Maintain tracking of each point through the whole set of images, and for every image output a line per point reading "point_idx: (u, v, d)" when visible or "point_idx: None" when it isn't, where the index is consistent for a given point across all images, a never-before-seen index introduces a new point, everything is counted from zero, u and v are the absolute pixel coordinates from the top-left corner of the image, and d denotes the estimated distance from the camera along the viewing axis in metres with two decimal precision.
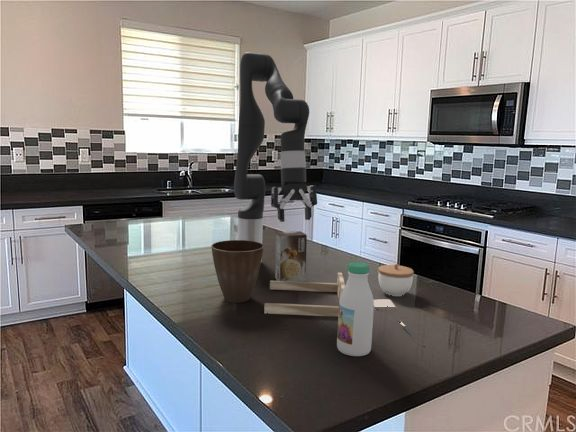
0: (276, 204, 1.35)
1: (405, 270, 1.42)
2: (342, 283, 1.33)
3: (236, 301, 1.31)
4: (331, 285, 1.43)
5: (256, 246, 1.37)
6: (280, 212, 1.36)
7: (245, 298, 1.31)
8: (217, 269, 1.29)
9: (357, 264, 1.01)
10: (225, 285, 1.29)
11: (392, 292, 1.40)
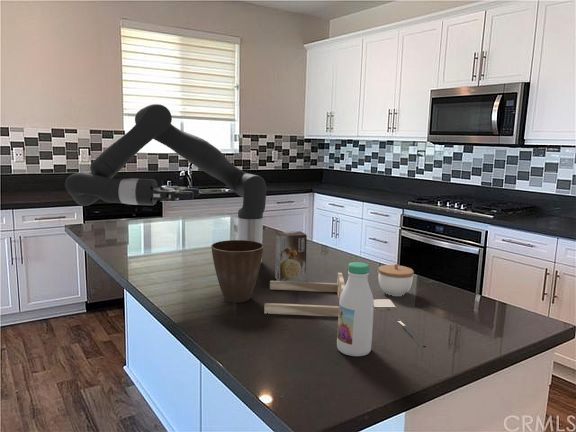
0: None
1: (405, 270, 1.42)
2: (342, 283, 1.33)
3: (236, 301, 1.31)
4: (331, 285, 1.43)
5: (256, 246, 1.37)
6: None
7: (245, 298, 1.31)
8: (217, 269, 1.29)
9: (357, 264, 1.01)
10: (225, 285, 1.29)
11: (392, 292, 1.40)
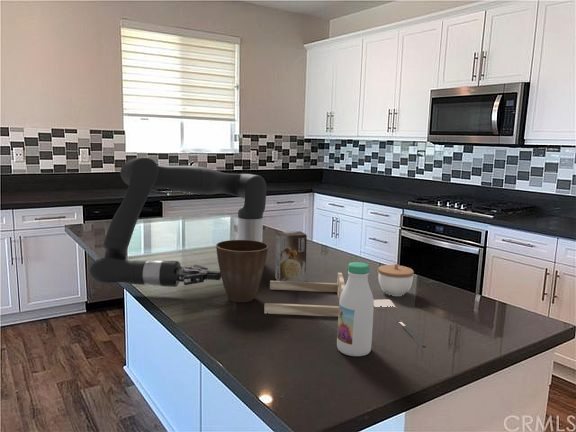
0: None
1: (405, 270, 1.42)
2: (342, 283, 1.33)
3: (240, 300, 1.31)
4: (331, 285, 1.43)
5: (260, 246, 1.37)
6: None
7: (249, 298, 1.31)
8: (222, 269, 1.29)
9: (357, 264, 1.01)
10: (229, 285, 1.29)
11: (392, 292, 1.40)
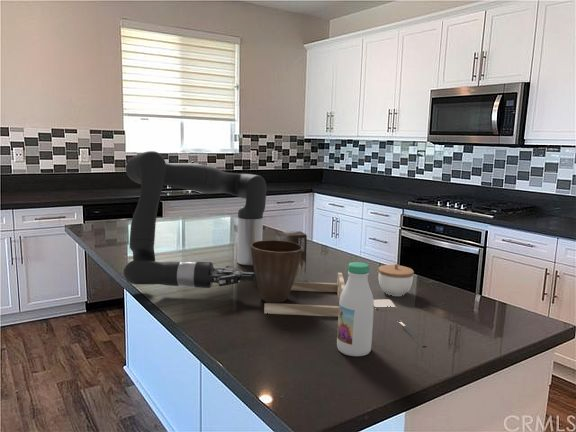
0: None
1: (405, 270, 1.42)
2: (342, 283, 1.33)
3: (276, 301, 1.31)
4: (331, 285, 1.43)
5: (290, 246, 1.38)
6: None
7: (284, 298, 1.32)
8: (259, 270, 1.29)
9: (357, 264, 1.01)
10: (267, 285, 1.29)
11: (392, 292, 1.40)
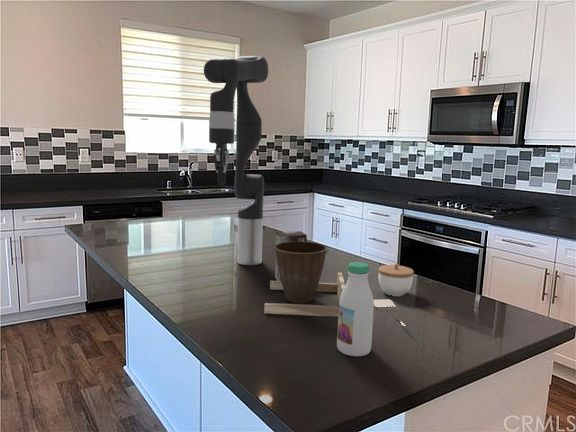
0: None
1: (405, 270, 1.42)
2: (342, 283, 1.33)
3: (304, 302, 1.32)
4: (331, 285, 1.43)
5: (311, 246, 1.39)
6: None
7: (311, 298, 1.33)
8: (287, 272, 1.29)
9: (357, 264, 1.01)
10: (295, 287, 1.30)
11: (392, 292, 1.40)
